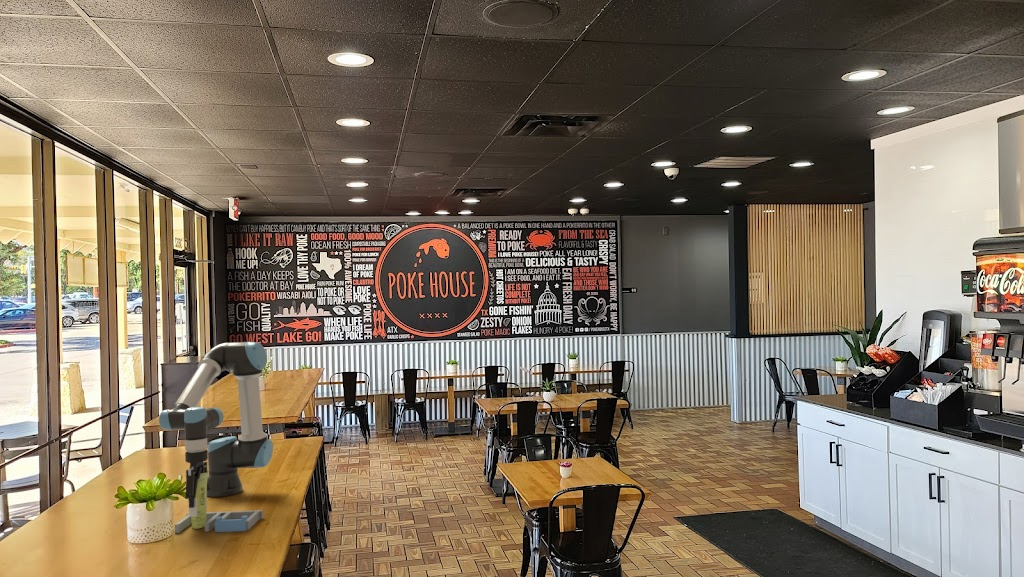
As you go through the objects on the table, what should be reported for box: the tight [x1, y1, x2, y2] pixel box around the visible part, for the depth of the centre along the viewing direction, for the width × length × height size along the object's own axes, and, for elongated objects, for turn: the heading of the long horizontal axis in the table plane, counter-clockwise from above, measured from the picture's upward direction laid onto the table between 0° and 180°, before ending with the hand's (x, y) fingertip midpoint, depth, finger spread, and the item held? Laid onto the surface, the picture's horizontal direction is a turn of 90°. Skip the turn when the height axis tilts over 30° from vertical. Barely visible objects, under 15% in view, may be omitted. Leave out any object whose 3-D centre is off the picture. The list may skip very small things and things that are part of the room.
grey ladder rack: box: [174, 509, 264, 534], centre depth 273 cm, size 15×28×5 cm, turn 92°
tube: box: [191, 472, 209, 530], centre depth 272 cm, size 6×5×20 cm
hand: (198, 512), depth 272 cm, fingers open, 9 cm apart
